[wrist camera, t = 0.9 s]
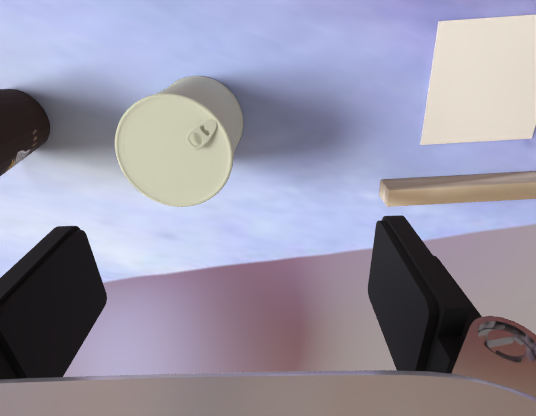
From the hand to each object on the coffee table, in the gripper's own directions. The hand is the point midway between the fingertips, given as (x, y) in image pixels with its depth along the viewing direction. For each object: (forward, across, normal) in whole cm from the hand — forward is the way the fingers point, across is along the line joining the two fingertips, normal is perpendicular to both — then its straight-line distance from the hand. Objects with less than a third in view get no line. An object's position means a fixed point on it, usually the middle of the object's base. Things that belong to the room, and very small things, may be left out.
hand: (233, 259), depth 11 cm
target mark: (+28, -24, -1) cm, 36 cm away
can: (+28, +6, +2) cm, 29 cm away
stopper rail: (+27, -24, +10) cm, 38 cm away
